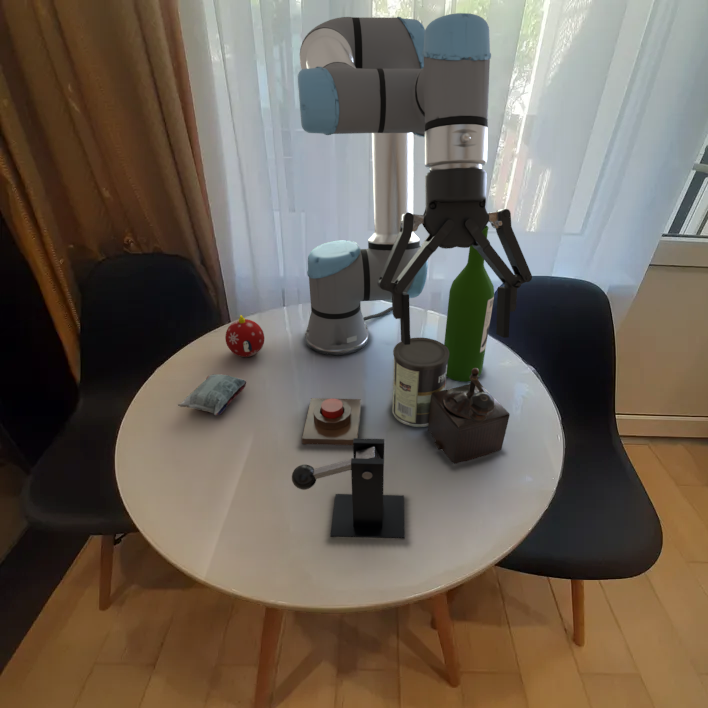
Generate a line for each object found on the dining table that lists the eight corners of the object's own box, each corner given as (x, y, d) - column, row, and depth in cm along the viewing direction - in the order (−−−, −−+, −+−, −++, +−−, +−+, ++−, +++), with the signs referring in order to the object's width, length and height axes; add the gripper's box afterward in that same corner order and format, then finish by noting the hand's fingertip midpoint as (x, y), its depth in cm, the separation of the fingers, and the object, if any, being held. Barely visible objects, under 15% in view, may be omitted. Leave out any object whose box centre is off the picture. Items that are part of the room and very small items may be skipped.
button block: (311, 406, 98) (310, 390, 96) (361, 407, 98) (360, 391, 96) (302, 447, 88) (300, 431, 86) (357, 449, 88) (356, 432, 86)
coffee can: (445, 398, 101) (451, 340, 92) (439, 431, 93) (446, 370, 84) (396, 392, 102) (398, 334, 94) (387, 423, 94) (388, 362, 86)
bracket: (330, 540, 72) (324, 470, 64) (335, 498, 79) (331, 430, 70) (404, 542, 72) (408, 472, 64) (403, 500, 79) (407, 432, 70)
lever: (296, 497, 70) (285, 481, 68) (300, 478, 73) (289, 462, 71) (381, 475, 67) (372, 457, 65) (382, 457, 70) (373, 439, 68)
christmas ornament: (265, 342, 118) (259, 305, 112) (267, 361, 111) (262, 322, 105) (228, 346, 116) (221, 309, 110) (229, 366, 109) (220, 327, 103)
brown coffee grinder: (422, 432, 92) (429, 352, 82) (472, 418, 96) (485, 340, 85) (464, 490, 81) (478, 406, 70) (519, 472, 84) (540, 389, 74)
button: (323, 405, 93) (322, 398, 92) (343, 405, 93) (343, 398, 92) (320, 418, 89) (319, 411, 88) (342, 419, 89) (341, 412, 88)
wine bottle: (481, 384, 105) (505, 236, 86) (440, 379, 106) (455, 232, 87) (481, 361, 112) (504, 220, 93) (443, 357, 113) (457, 217, 94)
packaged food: (180, 415, 95) (174, 395, 92) (214, 381, 104) (210, 362, 101) (219, 424, 93) (215, 404, 90) (250, 389, 102) (247, 370, 100)
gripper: (357, 167, 54) (366, 351, 61) (566, 163, 58) (554, 338, 64) (351, 175, 61) (360, 339, 68) (538, 171, 65) (529, 328, 71)
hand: (454, 339), depth 66 cm, fingers open, 13 cm apart
